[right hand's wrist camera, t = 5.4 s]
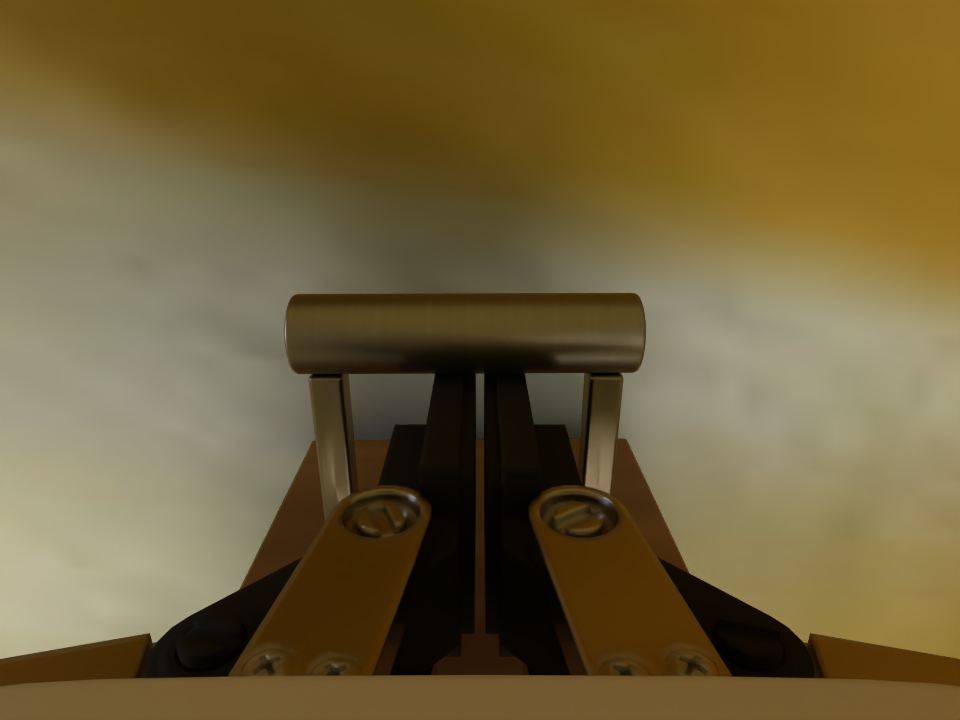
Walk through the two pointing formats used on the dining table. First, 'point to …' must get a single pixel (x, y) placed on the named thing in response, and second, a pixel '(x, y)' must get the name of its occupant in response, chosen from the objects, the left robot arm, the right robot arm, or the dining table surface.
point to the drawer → (459, 349)
